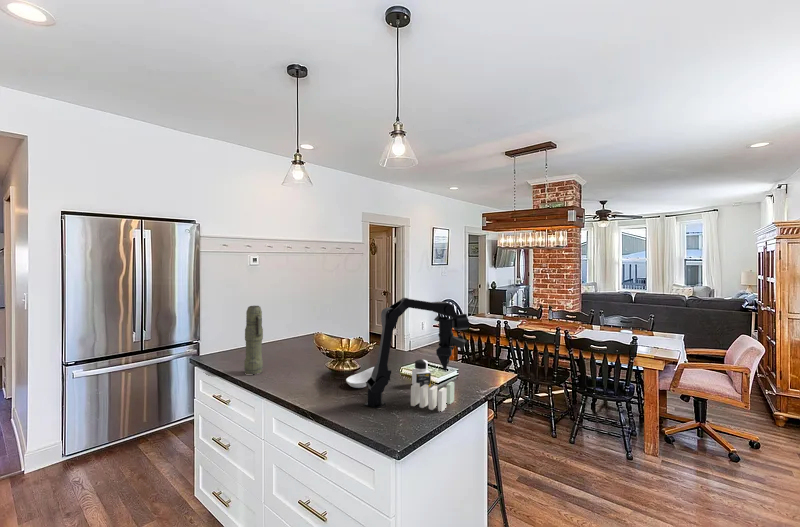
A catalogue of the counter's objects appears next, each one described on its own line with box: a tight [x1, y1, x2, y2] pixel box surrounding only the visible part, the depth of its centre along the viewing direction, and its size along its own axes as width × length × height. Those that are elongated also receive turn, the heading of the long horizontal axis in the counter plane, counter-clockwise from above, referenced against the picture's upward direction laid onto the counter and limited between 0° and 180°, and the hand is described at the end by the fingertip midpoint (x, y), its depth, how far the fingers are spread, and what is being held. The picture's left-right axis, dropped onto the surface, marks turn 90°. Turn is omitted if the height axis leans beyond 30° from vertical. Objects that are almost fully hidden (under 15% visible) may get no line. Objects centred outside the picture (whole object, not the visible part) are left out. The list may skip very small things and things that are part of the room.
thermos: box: [243, 305, 264, 374], centre depth 201 cm, size 9×12×35 cm
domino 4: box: [437, 387, 447, 413], centre depth 153 cm, size 2×5×8 cm, turn 152°
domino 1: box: [410, 383, 420, 407], centre depth 159 cm, size 2×5×8 cm, turn 152°
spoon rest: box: [345, 366, 375, 389], centre depth 186 cm, size 24×12×7 cm, turn 136°
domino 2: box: [419, 384, 429, 409], centre depth 157 cm, size 2×5×8 cm, turn 152°
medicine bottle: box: [411, 359, 432, 388], centre depth 183 cm, size 7×7×12 cm
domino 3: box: [428, 385, 438, 411], centre depth 155 cm, size 2×5×8 cm, turn 152°
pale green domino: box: [446, 381, 455, 405], centre depth 161 cm, size 2×5×8 cm, turn 152°
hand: (446, 366), depth 168 cm, fingers open, 9 cm apart
